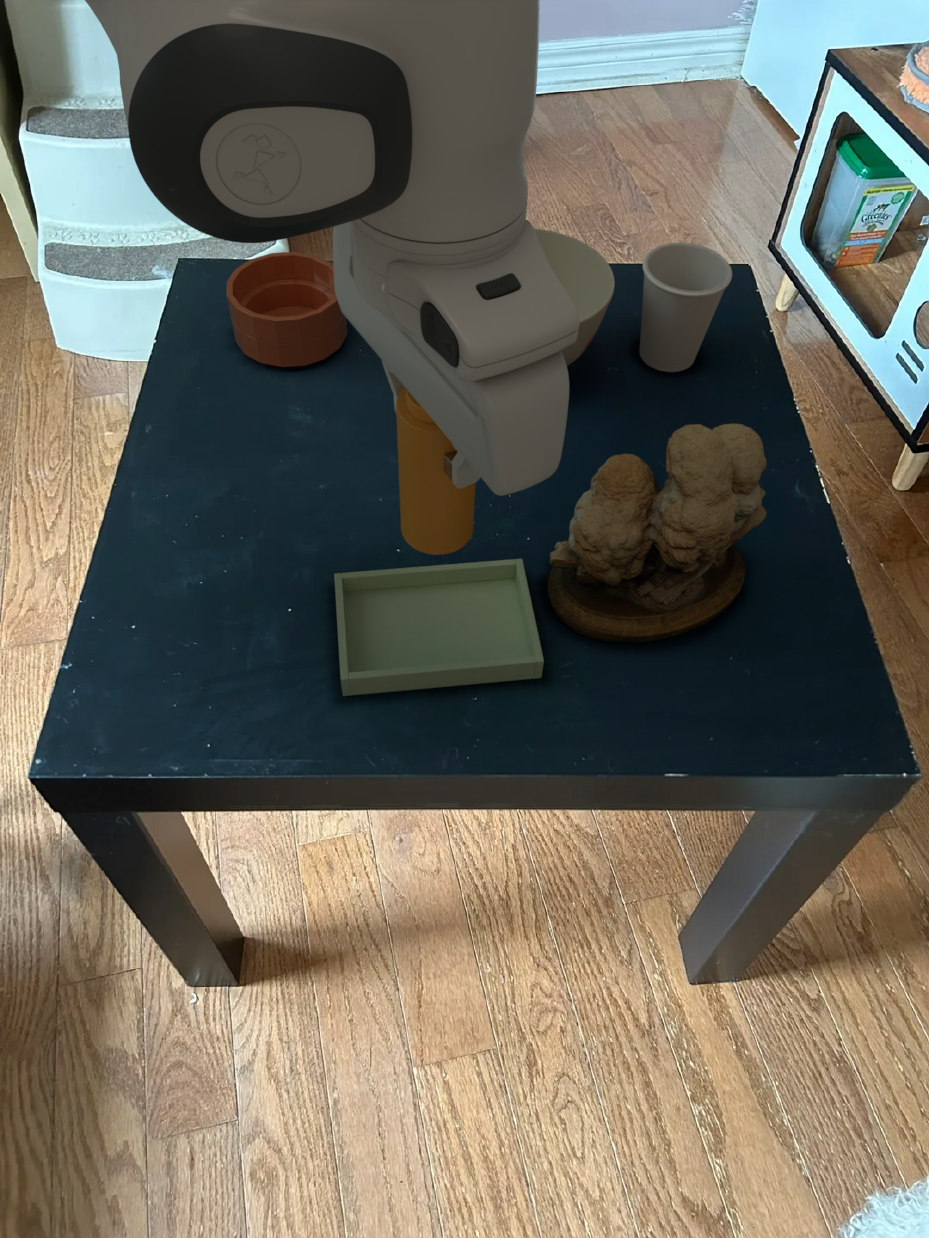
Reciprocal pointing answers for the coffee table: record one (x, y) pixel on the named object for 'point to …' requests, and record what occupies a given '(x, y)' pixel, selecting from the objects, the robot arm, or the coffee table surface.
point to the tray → (435, 627)
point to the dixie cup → (679, 302)
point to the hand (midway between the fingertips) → (436, 447)
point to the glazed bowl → (286, 309)
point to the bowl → (580, 283)
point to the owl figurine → (660, 538)
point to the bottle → (429, 484)
